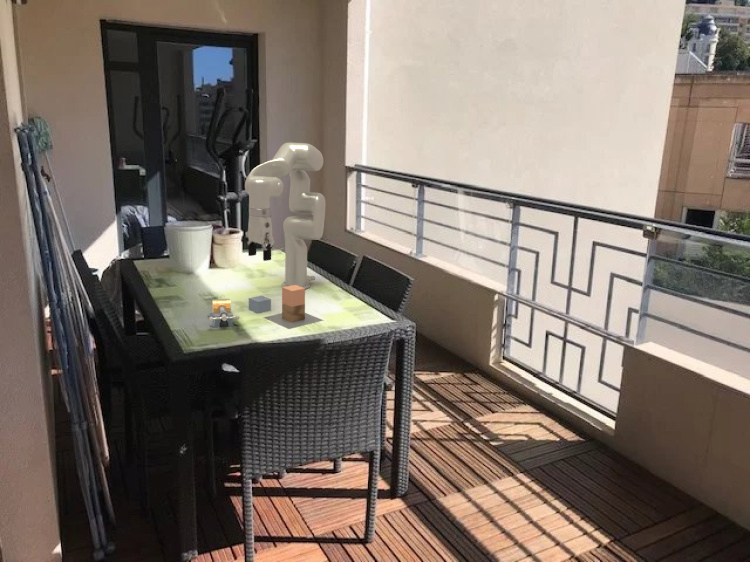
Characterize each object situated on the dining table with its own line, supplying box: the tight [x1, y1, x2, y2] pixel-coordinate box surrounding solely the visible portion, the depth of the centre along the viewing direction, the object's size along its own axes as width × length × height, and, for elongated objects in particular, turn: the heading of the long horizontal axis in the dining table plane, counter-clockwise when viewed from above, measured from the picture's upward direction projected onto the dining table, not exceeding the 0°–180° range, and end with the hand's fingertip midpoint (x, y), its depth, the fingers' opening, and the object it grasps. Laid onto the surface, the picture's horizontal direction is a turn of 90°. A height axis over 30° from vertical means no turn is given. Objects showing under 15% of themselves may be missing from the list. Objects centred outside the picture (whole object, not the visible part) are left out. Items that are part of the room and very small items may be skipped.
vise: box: [207, 298, 240, 328], centre depth 228 cm, size 18×10×7 cm, turn 18°
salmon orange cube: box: [281, 285, 306, 307], centre depth 229 cm, size 6×6×6 cm
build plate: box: [263, 312, 324, 330], centre depth 231 cm, size 16×16×1 cm
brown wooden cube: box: [281, 302, 306, 322], centre depth 230 cm, size 6×6×6 cm
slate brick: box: [248, 295, 272, 314], centre depth 239 cm, size 6×6×6 cm
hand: (259, 257), depth 234 cm, fingers open, 9 cm apart
